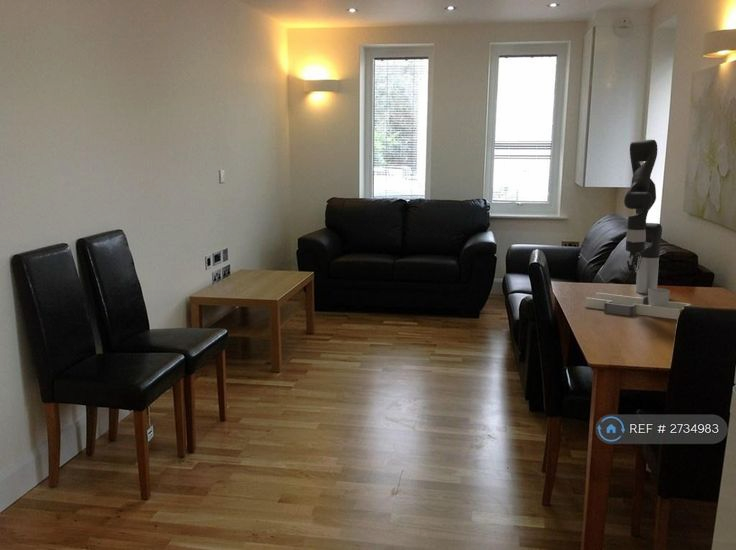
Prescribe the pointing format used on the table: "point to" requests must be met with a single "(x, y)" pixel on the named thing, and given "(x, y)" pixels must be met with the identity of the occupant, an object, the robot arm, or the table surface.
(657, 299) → the cup
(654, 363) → the table surface
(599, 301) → the box
